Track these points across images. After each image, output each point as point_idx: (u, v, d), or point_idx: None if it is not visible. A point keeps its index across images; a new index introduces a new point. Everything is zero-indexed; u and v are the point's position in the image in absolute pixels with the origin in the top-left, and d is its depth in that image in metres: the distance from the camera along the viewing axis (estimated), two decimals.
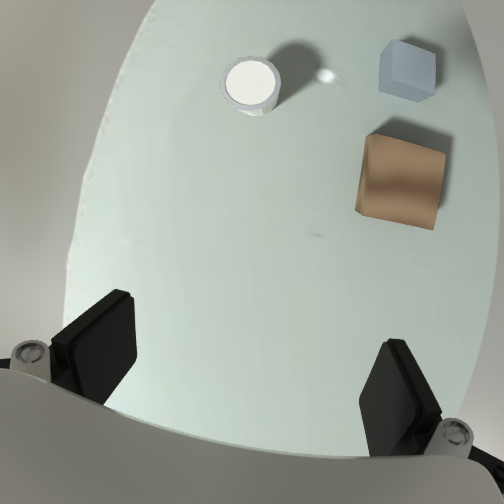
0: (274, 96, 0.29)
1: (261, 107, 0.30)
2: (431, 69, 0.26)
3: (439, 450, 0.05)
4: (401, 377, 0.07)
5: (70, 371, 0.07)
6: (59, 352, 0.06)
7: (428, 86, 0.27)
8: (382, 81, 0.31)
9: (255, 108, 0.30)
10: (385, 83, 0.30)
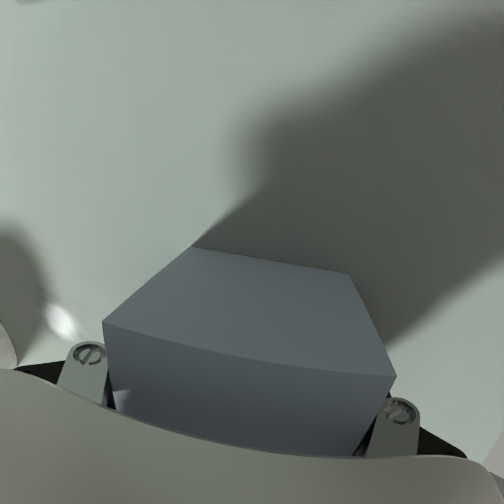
0: None
1: None
2: (329, 453, 0.06)
3: (386, 433, 0.05)
4: None
5: None
6: None
7: None
8: None
9: None
10: None
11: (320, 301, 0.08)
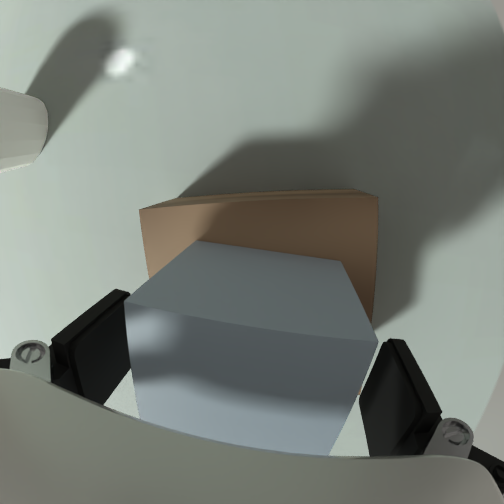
0: None
1: None
2: (324, 418, 0.07)
3: (439, 450, 0.05)
4: (401, 377, 0.07)
5: (70, 371, 0.07)
6: (59, 352, 0.06)
7: None
8: None
9: None
10: None
11: (312, 283, 0.09)
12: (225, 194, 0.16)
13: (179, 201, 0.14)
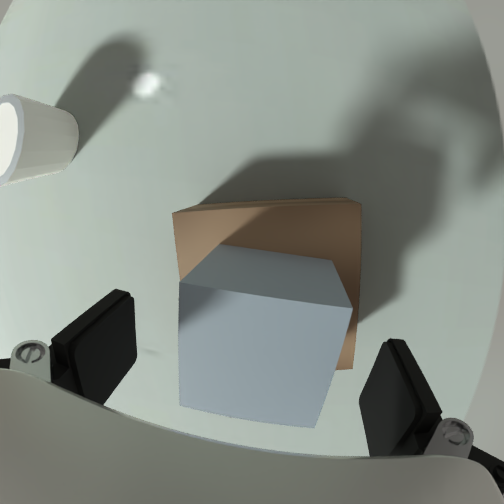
0: (16, 158, 0.14)
1: (6, 179, 0.14)
2: (319, 369, 0.10)
3: (439, 450, 0.05)
4: (401, 377, 0.07)
5: (70, 371, 0.07)
6: (59, 352, 0.06)
7: (295, 415, 0.11)
8: None
9: (1, 182, 0.15)
10: None
11: (309, 274, 0.13)
12: (239, 202, 0.20)
13: (202, 207, 0.18)
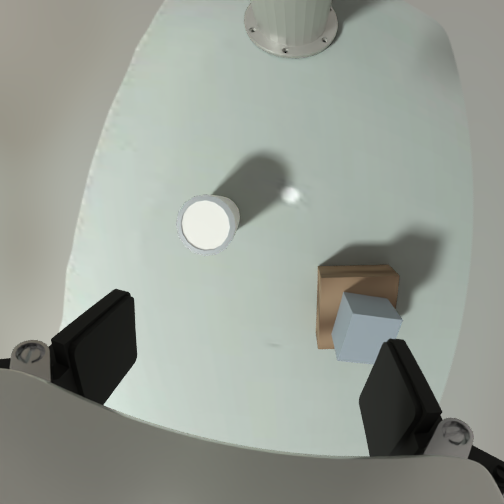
0: (228, 242, 0.33)
1: (215, 253, 0.33)
2: None
3: (439, 450, 0.05)
4: (401, 377, 0.07)
5: (70, 371, 0.07)
6: (59, 352, 0.06)
7: None
8: (335, 336, 0.34)
9: (210, 253, 0.33)
10: (335, 347, 0.33)
11: (384, 306, 0.32)
12: (340, 266, 0.39)
13: (328, 272, 0.37)
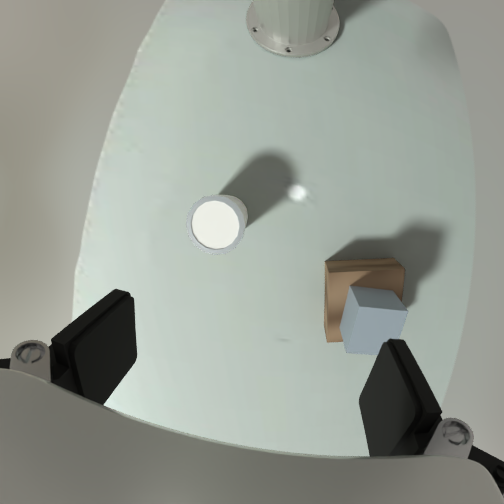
0: (238, 241, 0.34)
1: (226, 251, 0.34)
2: (396, 331, 0.30)
3: (439, 450, 0.05)
4: (401, 377, 0.07)
5: (70, 371, 0.07)
6: (59, 352, 0.06)
7: None
8: (343, 328, 0.35)
9: (220, 252, 0.34)
10: (343, 339, 0.34)
11: (389, 298, 0.32)
12: (346, 260, 0.39)
13: (335, 266, 0.38)
